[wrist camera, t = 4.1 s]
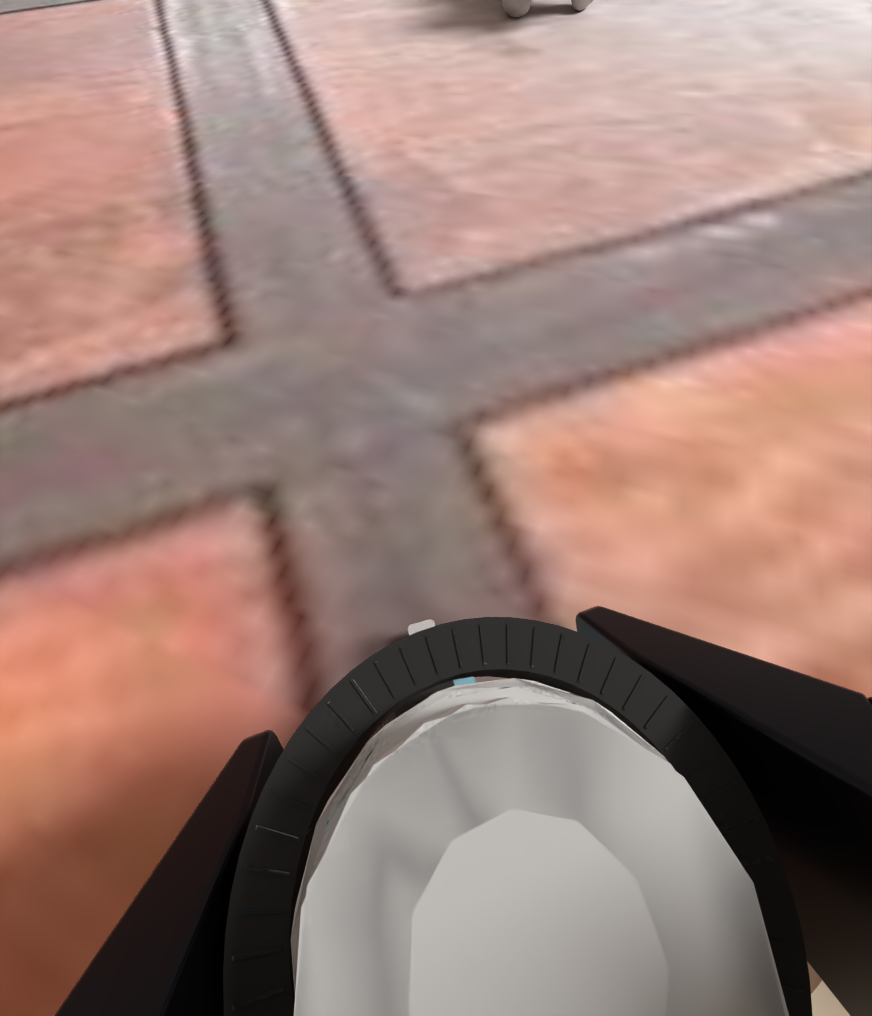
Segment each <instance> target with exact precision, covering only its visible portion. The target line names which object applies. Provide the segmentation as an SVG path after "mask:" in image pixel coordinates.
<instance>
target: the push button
mask: <svg viewBox="0 0 872 1016" xmlns="http://www.w3.org/2000/svg"><path fill="white" fill-rule="evenodd" d="M408 632H409V636H407V637H405V638H403V639H400V640H398V641H396V642H394V643H392V644H391V645H389V646H387V647H385V648H384V649H382V650H380V651H379V652H377V653H375V654H374V655H372V656H371V657H369V658H368V659H366V660H365V661H364V662H362V663H361V664H360V665H358V666H357V667H356V668H354V669H353V670H352V671H350V672H349V673H348V674H347V675H346V676H345V677H344V678H343V679H342V680H340V681H339V682H338V683H337V684H336V685H335V686H334V687H333V688H332V689H331V690H330V691H329V692H328V693H327V694H326V695H325V696H324V697H323V698H322V699H321V701H320V702H319V703H318V704H317V705H316V706H315V707H314V708H313V709H312V710H311V712H310V713H309V714H308V716H307V717H306V718H305V720H304V721H303V722H302V724H301V725H300V726H299V728H298V729H297V730H296V732H295V733H294V734H293V736H292V738H291V739H290V741H289V742H288V744H287V746H286V747H285V749H284V751H283V752H282V754H281V755H280V757H279V759H278V760H277V762H276V764H275V766H274V768H273V770H272V772H271V774H270V776H269V778H268V780H267V782H266V784H265V786H264V788H263V790H262V792H261V795H260V797H259V800H258V802H257V805H256V807H255V810H254V812H253V815H252V817H251V820H250V822H249V825H248V829H247V832H246V835H245V838H244V842H243V845H242V848H241V851H240V855H239V858H238V863H237V867H236V872H235V876H234V881H233V886H232V890H231V895H230V902H229V910H228V917H227V924H226V932H225V946H224V965H223V997H224V1016H813V1014H812V1001H811V988H810V977H809V970H808V964H807V958H806V951H805V945H804V939H803V934H802V930H801V925H800V921H799V917H798V913H797V909H796V905H795V900H794V896H793V893H792V890H791V887H790V884H789V881H788V878H787V875H786V872H785V868H784V865H783V862H782V859H781V857H780V854H779V852H778V850H777V847H776V845H775V842H774V840H773V837H772V835H771V832H770V830H769V827H768V825H767V823H766V821H765V819H764V817H763V815H762V813H761V811H760V809H759V807H758V805H757V803H756V801H755V799H754V797H753V795H752V793H751V791H750V790H749V788H748V786H747V785H746V783H745V782H744V780H743V778H742V777H741V775H740V773H739V772H738V770H737V768H736V767H735V765H734V763H733V762H732V761H731V759H730V758H729V756H728V755H727V754H726V752H725V751H724V749H723V748H722V747H721V745H720V744H719V742H718V741H717V740H716V738H715V737H714V736H713V734H712V733H711V732H710V731H709V730H708V728H707V727H706V726H705V725H704V724H703V723H702V721H701V720H700V719H699V718H698V717H697V715H696V714H695V713H694V712H693V711H692V710H691V709H690V708H689V707H688V706H687V705H686V704H685V703H684V702H683V701H682V700H681V699H680V698H679V697H678V696H677V695H676V694H675V693H674V692H673V691H672V690H671V689H669V688H668V687H667V686H666V685H665V684H663V683H662V682H661V681H660V680H659V679H658V678H656V677H655V676H654V675H653V674H652V673H650V672H649V671H647V670H646V669H645V668H643V667H642V666H640V665H639V664H637V663H636V662H635V661H633V660H632V659H630V658H629V657H627V656H625V655H624V654H622V653H620V652H618V651H617V650H615V649H613V648H611V647H610V646H608V645H606V644H604V643H602V642H600V641H597V640H595V639H593V638H591V637H589V636H586V635H584V634H582V633H579V632H576V631H573V630H570V629H567V628H564V627H561V626H558V625H554V624H549V623H545V622H540V621H536V620H528V619H520V618H511V617H484V618H474V619H464V620H459V621H454V622H449V623H445V624H440V625H437V626H435V623H434V621H433V620H431V619H430V620H426V621H422V622H419V623H415V624H411V625H409V627H408ZM482 676H492V677H503V678H509V679H503V680H495V681H487V682H480V683H476V682H475V679H474V677H482ZM394 711H395V714H396V719H394V720H393V721H391V722H390V723H388V724H386V725H385V726H384V727H383V728H382V729H381V730H380V731H378V732H377V733H376V734H375V735H374V736H373V737H372V738H371V739H370V740H369V741H368V742H367V740H368V739H369V738H370V737H371V735H372V734H373V733H374V732H375V730H376V729H377V728H378V727H379V726H380V725H381V724H382V723H383V722H384V721H385V720H386V719H387V718H388V717H389V716H390V714H391V713H393V712H394ZM366 742H367V744H366V745H365V743H366ZM364 745H365V747H364V748H363V746H364ZM362 748H363V750H362V751H361V749H362ZM360 751H361V753H360ZM359 753H360V754H359ZM358 754H359V756H358ZM357 756H358V757H357ZM356 757H357V758H356ZM355 759H356V760H355Z"/></svg>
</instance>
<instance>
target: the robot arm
mask: <svg viewBox="0 0 872 1016" xmlns="http://www.w3.org/2000/svg"><path fill="white" fill-rule="evenodd" d="M576 626H577V632H579V633H582V634H584V635H586V636H589V637H591V638H593V639H595V640H597V641H600V642H602V643H604V644H606V645H608V646H610V647H611V648H613V649H615V650H617V651H618V652H620V653H622V654H624V655H625V656H627V657H629V658H630V659H632V660H633V661H635V662H636V663H637V664H639V665H640V666H642V667H643V668H645V669H646V670H647V671H649V672H650V673H652V674H653V675H654V676H655V677H656V678H658V679H659V680H660V681H661V682H662V683H663V684H665V685H666V686H667V687H668V688H669V689H671V690H672V691H673V692H674V693H675V694H676V695H677V696H678V697H679V698H680V699H681V700H682V701H683V702H684V703H685V704H686V705H687V706H688V707H689V708H690V709H691V710H692V711H693V712H694V713H695V714H696V715H697V717H698V718H699V719H700V720H701V721H702V723H703V724H704V725H705V726H706V727H707V728H708V730H709V731H710V732H711V733H712V734H713V736H714V737H715V738H716V740H717V741H718V742H719V744H720V745H721V747H722V748H723V749H724V751H725V752H726V754H727V755H728V756H729V758H730V759H731V761H732V762H733V763H734V765H735V767H736V768H737V770H738V772H739V773H740V775H741V777H742V778H743V780H744V782H745V783H746V785H747V786H748V788H749V790H750V791H751V793H752V795H753V797H754V799H755V801H756V803H757V805H758V807H759V809H760V811H761V813H762V815H763V817H764V819H765V821H766V823H767V825H768V827H769V830H770V832H771V835H772V837H773V840H774V842H775V845H776V847H777V850H778V852H779V854H780V857H781V859H782V862H783V865H784V868H785V872H786V875H787V878H788V881H789V884H790V887H791V890H792V893H793V896H794V900H795V905H796V909H797V913H798V917H799V921H800V925H801V930H802V934H803V939H804V945H805V951H806V958H807V962H808V963H809V964H810V965H811V967H812V968H813V969H814V971H815V972H816V973H817V974H818V976H819V977H820V978H821V979H822V981H823V982H824V983H825V984H826V986H827V987H828V988H829V990H830V991H831V992H832V993H833V995H834V996H835V997H836V998H837V1000H838V1001H839V1002H840V1003H841V1005H842V1006H843V1007H844V1009H845V1010H846V1011H847V1012H848V1014H849V1015H850V1016H872V697H869V698H868V699H867V698H866V696H865V695H863V694H862V693H859V692H856V691H853V690H850V689H847V688H844V687H841V686H838V685H835V684H832V683H829V682H826V681H823V680H820V679H817V678H814V677H811V676H808V675H805V674H802V673H799V672H796V671H793V670H790V669H787V668H784V667H781V666H778V665H775V664H772V663H769V662H766V661H763V660H760V659H757V658H754V657H751V656H748V655H745V654H742V653H739V652H736V651H733V650H730V649H727V648H724V647H721V646H718V645H715V644H712V643H709V642H706V641H703V640H700V639H697V638H694V637H691V636H688V635H685V634H682V633H679V632H676V631H673V630H670V629H667V628H664V627H661V626H658V625H655V624H652V623H649V622H646V621H643V620H640V619H637V618H634V617H631V616H628V615H625V614H622V613H619V612H616V611H613V610H610V609H607V608H604V607H600V606H596V607H593V608H590V609H587V610H585V611H582V612H580V613H578V614H577V616H576ZM283 751H284V749H283V747H282V746H281V744H280V742H279V740H278V738H277V736H276V735H275V733H274V732H273V731H270V730H266V731H264V732H261V733H258V734H256V735H253V736H250V737H248V738H246V739H244V740H243V741H242V742H241V743H240V745H239V746H238V748H237V749H236V751H235V752H234V754H233V755H232V756H231V758H230V759H229V761H228V762H227V764H226V765H225V767H224V768H223V770H222V771H221V773H220V774H219V775H218V777H217V778H216V780H215V781H214V783H213V784H212V786H211V787H210V789H209V790H208V792H207V793H206V795H205V796H204V797H203V799H202V800H201V802H200V803H199V805H198V806H197V808H196V809H195V811H194V812H193V814H192V815H191V816H190V818H189V819H188V821H187V822H186V824H185V825H184V827H183V828H182V830H181V831H180V833H179V834H178V836H177V837H176V838H175V840H174V841H173V843H172V844H171V846H170V847H169V849H168V850H167V852H166V853H165V855H164V856H163V857H162V859H161V860H160V862H159V863H158V865H157V866H156V868H155V869H154V871H153V872H152V874H151V875H150V876H149V878H148V879H147V881H146V882H145V884H144V885H143V887H142V888H141V890H140V891H139V893H138V894H137V896H136V897H135V898H134V900H133V901H132V903H131V904H130V906H129V907H128V909H127V910H126V912H125V913H124V915H123V916H122V917H121V919H120V920H119V922H118V923H117V925H116V926H115V928H114V929H113V931H112V932H111V934H110V935H109V937H108V938H107V939H106V941H105V942H104V944H103V945H102V947H101V948H100V950H99V951H98V953H97V954H96V956H95V957H94V958H93V960H92V961H91V963H90V964H89V966H88V967H87V969H86V970H85V972H84V973H83V975H82V976H81V978H80V979H79V980H78V982H77V983H76V985H75V986H74V988H73V989H72V991H71V992H70V994H69V995H68V997H67V998H66V999H65V1001H64V1002H63V1004H62V1005H61V1007H60V1008H59V1010H58V1011H57V1013H56V1014H55V1016H224V997H223V965H224V946H225V932H226V924H227V917H228V910H229V902H230V895H231V890H232V886H233V881H234V876H235V872H236V867H237V863H238V858H239V855H240V851H241V848H242V845H243V842H244V838H245V835H246V832H247V829H248V825H249V822H250V820H251V817H252V815H253V812H254V810H255V807H256V805H257V802H258V800H259V797H260V795H261V792H262V790H263V788H264V786H265V784H266V782H267V780H268V778H269V776H270V774H271V772H272V770H273V768H274V766H275V764H276V762H277V760H278V759H279V757H280V755H281V754H282V752H283Z"/></svg>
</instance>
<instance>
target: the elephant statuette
mask: <svg viewBox="0 0 872 1016" xmlns="http://www.w3.org/2000/svg"><path fill="white" fill-rule="evenodd" d="M571 1H572V5H573V7H574V9H576V10H578V11H581V10H583V9H585V8H586V7H587V6H588V5H589V4H590V3H591V2H592V1H593V0H571ZM501 2H502V7H503V9H504V11H505V12H506V13H507V14H509V15H510V16H511V17H514V18H518V17H521V16H523V15H525V14H526V13H527V12H528V10H529V8H530V6H531V0H501Z"/></svg>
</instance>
